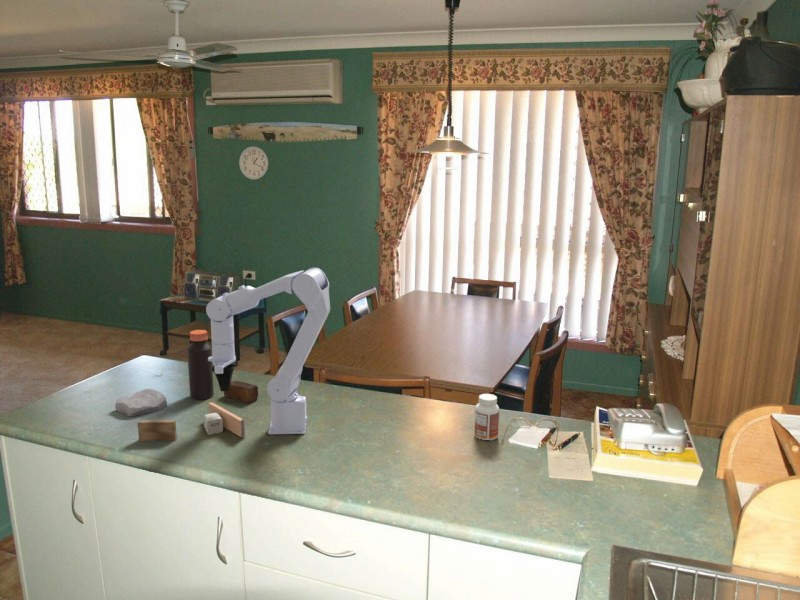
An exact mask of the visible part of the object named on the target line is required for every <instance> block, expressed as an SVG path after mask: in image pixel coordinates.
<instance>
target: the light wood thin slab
mask: <svg viewBox="0 0 800 600" xmlns="http://www.w3.org/2000/svg"><path fill="white" fill-rule="evenodd" d="M211 413H219V415H220V417H221V418H222V420H223V428H225V429H226V430H228V431H230V432H232V433H233V434H235V435H237V436H239V437H240V438H245V437H246V435H245V434H246V432H245V430H246V429H245V419H244V418H242V417H240V416H238V415H236V414H234V413H232V412H230V411H229V410H227V409H226V408H224V407H222V406H220V405H218V404H216V403H214V402H213V401H212V402H208V414H211Z"/></svg>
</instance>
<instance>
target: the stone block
mask: <svg viewBox="0 0 800 600" xmlns="http://www.w3.org/2000/svg"><path fill="white" fill-rule="evenodd" d="M167 406H168V401H167V398H166V396H165V394H163V393H162V392H160V391H159V390H157V389H154V388H144V389H141V390H139V391H136V392H134V394H132V395H130V396H127V397H119V398H117V400H116V401H115V405H114V407H115V410H116V411H117V412H119V413H121V414H125V415H126V416H128V417H134V416H139V415H143V414H147V413H149V414H150V413H152V412H157V411H160V410H162V409H164V408H166V407H167Z"/></svg>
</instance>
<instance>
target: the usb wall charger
mask: <svg viewBox="0 0 800 600" xmlns="http://www.w3.org/2000/svg"><path fill="white" fill-rule="evenodd" d="M203 428H204V429H205V431H206V434H207V435H214V434H215V433H216V434H220V432H221V433H222V432H223V431H224V427H223V420H222V418H221V417H220V415H219V413H211V414H209V413H207V414H206V413H205V414H204V415H203ZM216 434H215V435H216Z"/></svg>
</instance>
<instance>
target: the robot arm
mask: <svg viewBox="0 0 800 600" xmlns="http://www.w3.org/2000/svg"><path fill="white" fill-rule="evenodd" d="M237 288H238V289H237V290H234V291H232V292H224V293H222V295H221V296H218V297H216V298H213V299H212V300H211V301H209V302H208V303H207V304H206V307H205V310H206V311H205V313H206V315H207V317H208V318H209V319H210V333H211V337H210V338H211V349H212V357H209V358H208V361H212V371H213V375H214V376H215V377H216V379H217V383H218V386H219V389H220V392H224V391H229V390H230V386H231V381H232V378H233V374H234V370H235V368H236V365H237V362H236V360H237V356H236V352H235V351H236V350H235V328H234V327H235V326H234V315H238V314H241V313H243V312H246V311H249V310H251V309H253V308H256V307H258V306H259V303H260V301H261V300H263V299H266V298H269V297H271V296H274V295H277V294H279V293H283V292H285V293H287V294H290V295H293V294H294V295H295V296H296V297H297V298H298V299H299V300H300V302H302V303H303V304H304V306H305V308H306V310H307V314H306V316H305V318H304V321H303V322H302V325H301V326H300V329H299V331H298V332H297V334H296V337H295V339H294V341H293V343H292V345H291V347H290V349H289V352H288V353H287V355H286V357H285V360H284V362H283V363H282V365H281V366H280V368H279V370H278V371H277V372H276V374H275V376H274V377H273V378H272V379H271V380H270V381H268V383H267V385H266V393H267V395H268V397H269V399H270V425H269V428H268V432H267V434H268V435H297V434H298V435H302V434H303V435H304V434H305V433H306V430H307V429H306V428H307V424H308V416H307V397H306V396H302V395H299V393H298V387H299V386H300V384H301V381H302V380H301V379H302V377H301V375H302V372H303V367H304V365H305V362H306V360H307V359H308V357H309V355H310V352H311V351H312V348H313V346H314V345H315V342H316V340H317V338H318V336H319V334H320V332H321V331H322V328H323V326H324V324H325V322H326V320H327V318H328V316H329V314H330V312H331V303H330V302H331V301H330V299H331V298H330V282H329V280H328V277H327V276H326V273H325V272H324V270H322V269H320V268H318V267H310V268H308V269H307V270H303V269H302V270H300V271H299V270H298V271H296V272H291V273H288V274H286V275H284V276H281V277H279V278H277V279H273V280H272V281H270V282H267V283H265V284H262V285H260V286H258V287H254V286H252V285H246V286H245V284H243V285H241V286H238V287H237Z"/></svg>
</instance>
